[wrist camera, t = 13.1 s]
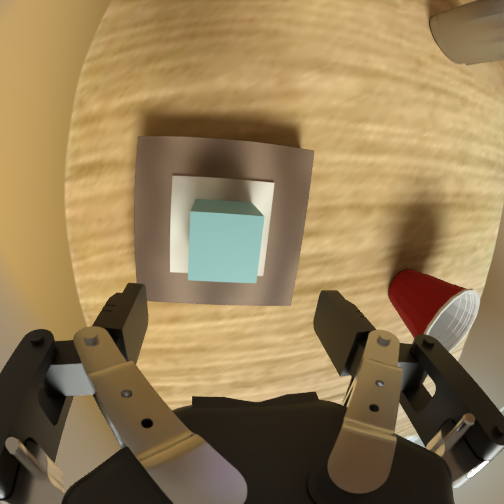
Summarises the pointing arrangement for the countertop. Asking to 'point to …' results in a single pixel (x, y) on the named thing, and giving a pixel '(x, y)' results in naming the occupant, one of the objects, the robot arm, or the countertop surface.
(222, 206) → the teal block
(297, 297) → the countertop surface
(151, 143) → the walnut plinth
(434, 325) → the plastic cup
